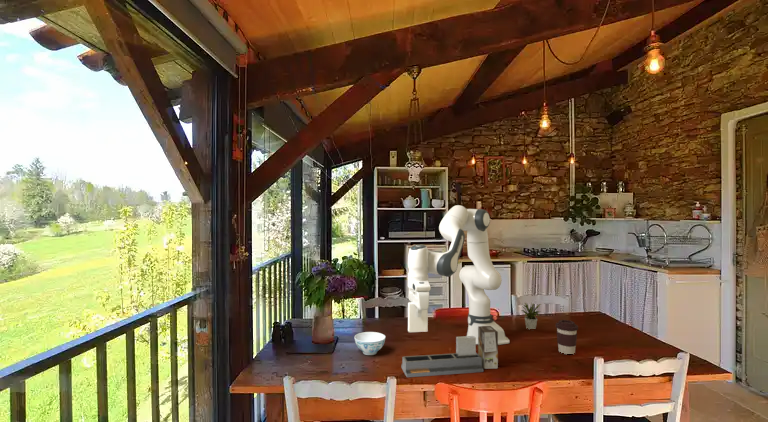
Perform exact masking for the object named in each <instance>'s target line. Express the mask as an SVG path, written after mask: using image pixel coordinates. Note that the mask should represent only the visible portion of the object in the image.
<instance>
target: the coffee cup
mask: <svg viewBox="0 0 768 422" xmlns="http://www.w3.org/2000/svg"><path fill="white" fill-rule="evenodd" d="M555 328H556V338H557V341H556V342H557V347H558V352H559V353H560V352H561V353H560V354H562V353H564V354H563V355H567V354H573V355H575V354H576V347H577V339H578V338H577V337H578V333H577V331H579V326H578V325H577V324H576V323H575V322H574V321H572V320H567V319H561V320H558V322H556V323H555ZM574 353H575V354H574Z"/></svg>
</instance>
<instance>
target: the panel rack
mask: <svg viewBox="0 0 768 422" xmlns="http://www.w3.org/2000/svg"><path fill="white" fill-rule="evenodd" d="M455 343H456V344H455V353H442V354H440V353H439V354H438V353H437V354H425V355H422V354H421V355H406V356H405V355H404V356H402V361H401V362H402V363H401V366H400V367H401V369H402V371H403V373H404V375H405V376H406V377H405V378H415V377H416V378H417V377H431V376H442V375H443V376H444V375H457V374H458V375H461V374H473V373H484V368H483V366H482V357H481V356H480V355H478V352H476V351H477V349H476V346H477V344H476V337H474V336H467V335H465V336H464V335H463V336H455Z"/></svg>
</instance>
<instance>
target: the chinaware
mask: <svg viewBox="0 0 768 422" xmlns="http://www.w3.org/2000/svg"><path fill="white" fill-rule="evenodd" d="M385 341H386V335H385V334H383V333H381V332H378V331H377V332H376V331H365V332H359V333H357V334H355V335H354V342H355V345H356V346H357V348H358V349H359V350H360V351H361V352H362V354H363V355H366V356H374V355H376V354H377V353H378V351H379V350H381V349H382V348H383V346H384V344H385V343H386V342H385Z"/></svg>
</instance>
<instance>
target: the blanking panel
mask: <svg viewBox="0 0 768 422" xmlns="http://www.w3.org/2000/svg"><path fill="white" fill-rule="evenodd" d="M416 312H417V307H416V306H415V304H414V303H413V302H411V301H409V302H407V332H408V333H421V332H422V333H423V332H425V333H426V332H429V330H428V325H429V324H428V323H429V322H428V321H429V319H428V316H429V315H428V313H429V309H428V310H422V313H421V317H417V316H416V315H417V314H416Z"/></svg>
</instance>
